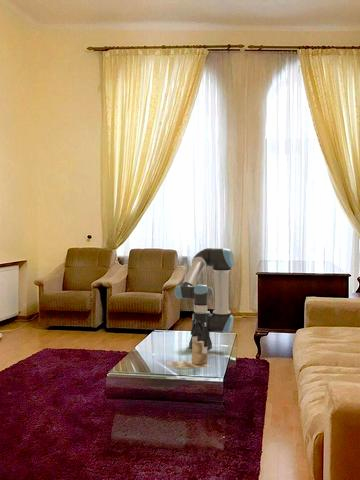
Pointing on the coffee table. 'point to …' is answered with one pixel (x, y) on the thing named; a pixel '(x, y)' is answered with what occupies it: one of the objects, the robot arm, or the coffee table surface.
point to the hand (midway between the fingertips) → (199, 350)
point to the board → (185, 365)
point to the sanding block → (198, 353)
